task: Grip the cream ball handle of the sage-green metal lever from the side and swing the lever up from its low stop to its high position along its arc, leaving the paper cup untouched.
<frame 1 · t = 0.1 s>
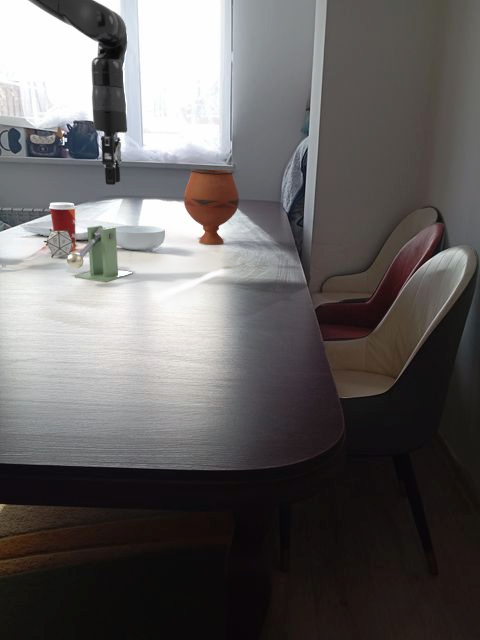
hand: (113, 183, 124), 23 cm above the table, tool pointing down, fingers open, 8 cm apart
game die: (61, 257, 150), on the table
paper cup: (66, 250, 160), on the table
square plate: (77, 235, 187), on the table
cereal bowl: (138, 251, 165), on the table
goblet: (210, 243, 186), on the table
bracket: (104, 279, 129), on the table
lever: (88, 247, 121), point 9 cm above the table, hinge at -25.0°
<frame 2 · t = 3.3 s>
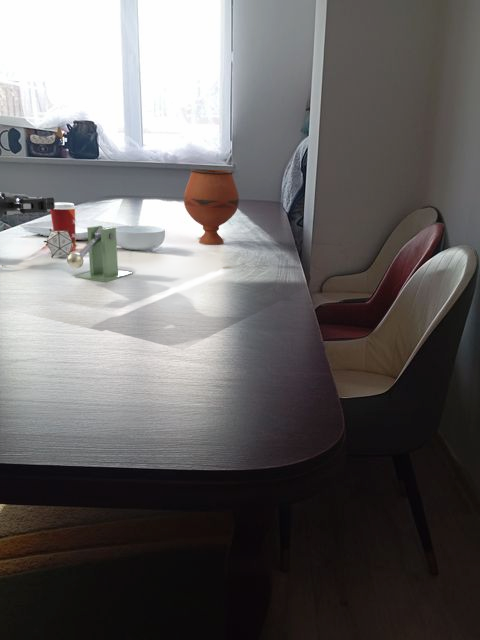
hand: (36, 201, 104), 20 cm above the table, tool horizontal, fingers open, 8 cm apart
nothing on the table moved.
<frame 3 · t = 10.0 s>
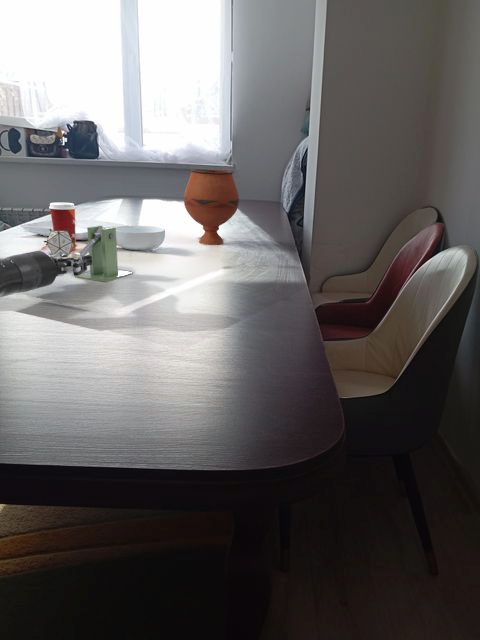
hand: (83, 258, 120), 6 cm above the table, tool horizontal, fingers closed on lever, 3 cm apart
lever: (88, 247, 121), point 9 cm above the table, hinge at -25.0°, touching gripper
everything else where it was.
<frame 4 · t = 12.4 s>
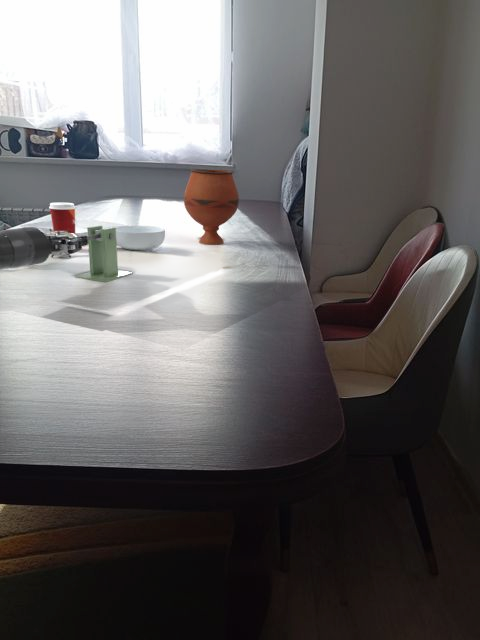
hand: (78, 239, 118), 11 cm above the table, tool horizontal, fingers closed on lever, 3 cm apart
lever: (86, 238, 120), point 11 cm above the table, hinge at -0.5°, touching gripper
everything else where it was.
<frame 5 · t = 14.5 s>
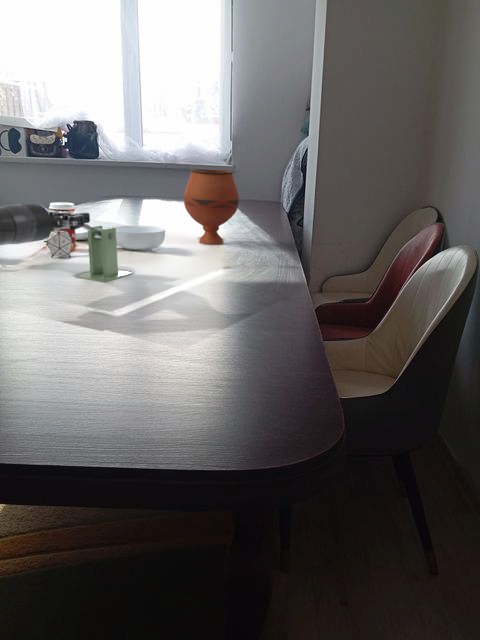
hand: (80, 216, 117), 16 cm above the table, tool horizontal, fingers closed on lever, 3 cm apart
lever: (87, 227, 119), point 13 cm above the table, hinge at 24.6°, touching gripper
everything else where it was.
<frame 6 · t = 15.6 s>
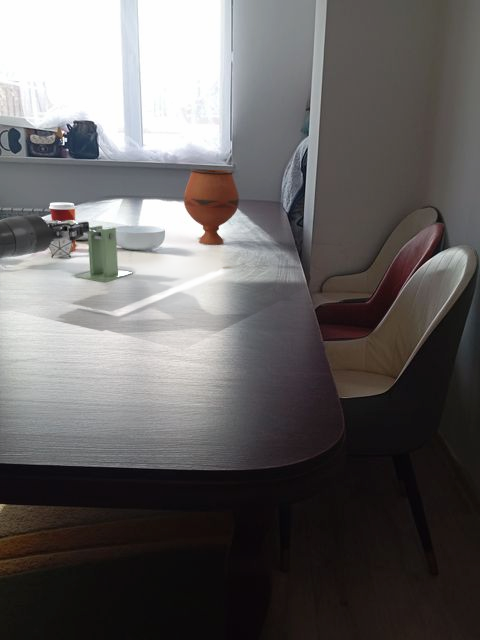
hand: (80, 225, 117), 14 cm above the table, tool horizontal, fingers closed on lever, 3 cm apart
lever: (86, 231, 119), point 12 cm above the table, hinge at 14.3°, touching gripper
everything else where it was.
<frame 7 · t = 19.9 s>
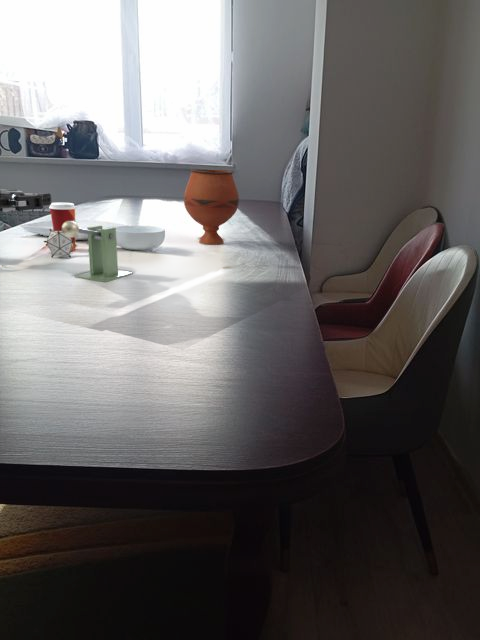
hand: (33, 197, 103), 21 cm above the table, tool horizontal, fingers open, 8 cm apart
lever: (86, 232, 119), point 12 cm above the table, hinge at 13.4°
everything else where it was.
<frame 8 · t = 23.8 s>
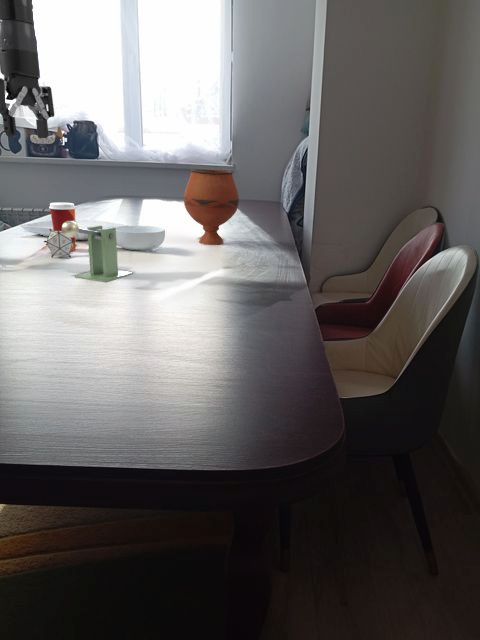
hand: (27, 137, 109), 32 cm above the table, tool pointing down, fingers open, 8 cm apart
nothing on the table moved.
at the end: lever reached +25° during the clip, +13° at the end; lever at +13° (first picture: -25°); paper cup moved 0.2 cm from its start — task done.
